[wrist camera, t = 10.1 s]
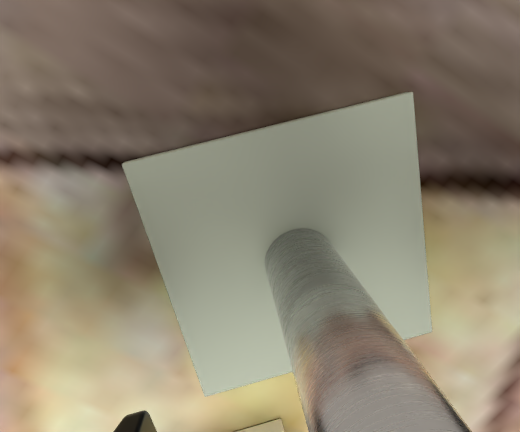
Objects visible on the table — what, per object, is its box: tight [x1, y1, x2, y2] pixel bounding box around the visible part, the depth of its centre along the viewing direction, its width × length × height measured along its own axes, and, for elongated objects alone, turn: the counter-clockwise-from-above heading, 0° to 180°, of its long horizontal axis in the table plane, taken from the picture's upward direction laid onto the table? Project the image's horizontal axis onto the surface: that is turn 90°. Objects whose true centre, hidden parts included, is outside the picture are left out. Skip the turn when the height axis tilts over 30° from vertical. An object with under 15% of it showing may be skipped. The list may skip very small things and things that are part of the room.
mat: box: [122, 92, 432, 397], centre depth 13 cm, size 9×9×1 cm
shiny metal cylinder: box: [265, 228, 472, 432], centre depth 8 cm, size 2×2×10 cm
